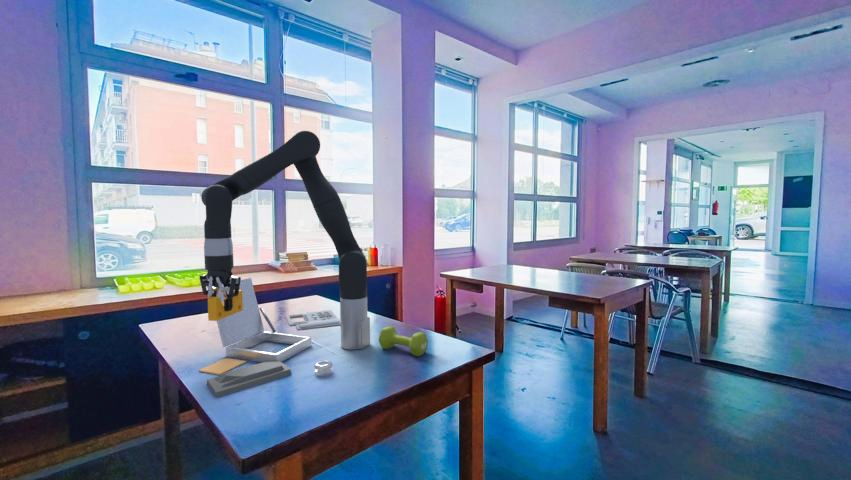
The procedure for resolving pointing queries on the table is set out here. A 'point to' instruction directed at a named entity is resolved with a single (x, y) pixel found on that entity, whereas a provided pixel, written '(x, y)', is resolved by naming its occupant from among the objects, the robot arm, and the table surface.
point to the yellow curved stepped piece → (217, 307)
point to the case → (242, 352)
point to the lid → (241, 317)
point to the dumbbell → (403, 340)
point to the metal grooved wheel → (323, 368)
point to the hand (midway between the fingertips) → (221, 309)
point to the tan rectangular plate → (222, 366)
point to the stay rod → (267, 319)
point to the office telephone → (315, 320)
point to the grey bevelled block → (247, 377)
